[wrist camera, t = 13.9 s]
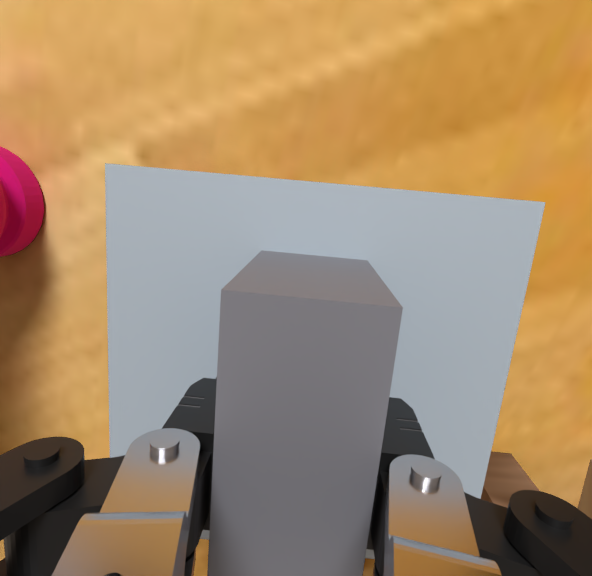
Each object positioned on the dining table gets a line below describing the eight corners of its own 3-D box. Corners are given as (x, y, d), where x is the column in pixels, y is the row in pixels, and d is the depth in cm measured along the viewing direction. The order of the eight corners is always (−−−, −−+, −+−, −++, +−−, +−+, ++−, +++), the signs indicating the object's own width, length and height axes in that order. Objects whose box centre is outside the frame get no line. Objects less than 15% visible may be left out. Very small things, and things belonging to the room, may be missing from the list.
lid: (138, 483, 16) (0, 704, 9) (139, 168, 14) (-55, 139, 7) (445, 519, 16) (546, 777, 9) (508, 201, 13) (725, 207, 6)
